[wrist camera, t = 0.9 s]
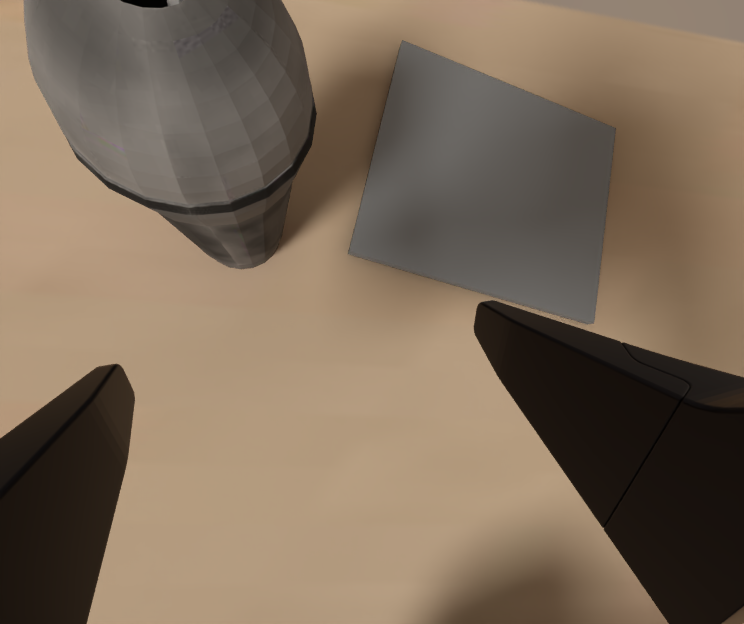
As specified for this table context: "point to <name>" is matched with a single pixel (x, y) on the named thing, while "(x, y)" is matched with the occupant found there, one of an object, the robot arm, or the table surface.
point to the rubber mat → (487, 188)
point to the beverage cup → (183, 109)
